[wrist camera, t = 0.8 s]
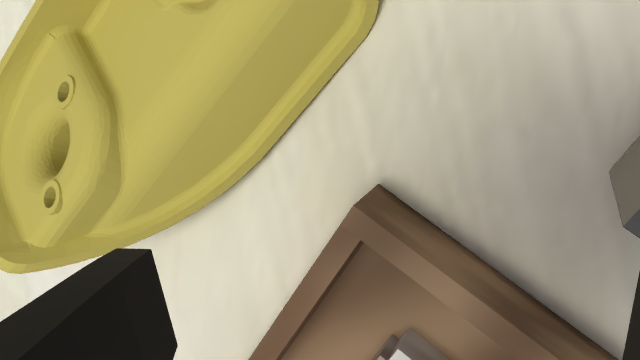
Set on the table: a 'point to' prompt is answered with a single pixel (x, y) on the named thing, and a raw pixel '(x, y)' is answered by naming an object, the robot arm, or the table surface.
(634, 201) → the grey rectangular block
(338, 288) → the walnut box
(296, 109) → the plastic component
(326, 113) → the table surface
